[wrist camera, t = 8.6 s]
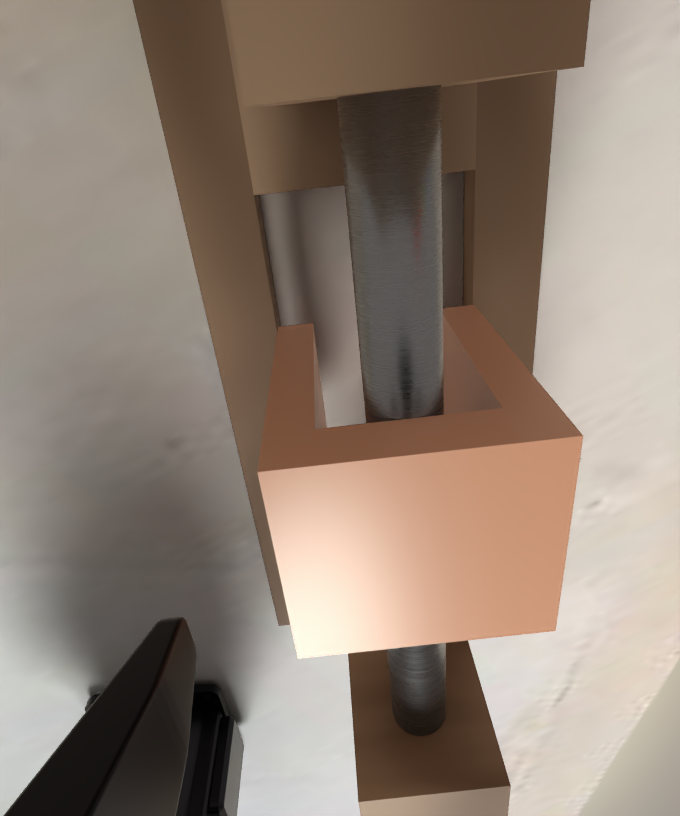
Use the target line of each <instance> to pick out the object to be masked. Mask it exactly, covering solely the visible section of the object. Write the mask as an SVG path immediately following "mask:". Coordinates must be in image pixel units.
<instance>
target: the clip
mask: <svg viewBox="0 0 680 816" xmlns="http://www.w3.org/2000/svg"><path fill="white" fill-rule="evenodd" d="M443 367H444V415H437V416H429V417H420V418H412V419H402V420H393V421H384V422H375V423H366V424H357V425H348V426H339V427H330V428H327V425H326V417H325V409H324V402H323V394H322V387H321V379H320V372H319V364H318V357H317V349H316V341H315V334H314V326H313V323H308V324H299V325H290V326H282V327H278V331H277V338H276V345H275V352H274V359H273V366H272V373H271V380H270V387H269V394H268V401H267V408H266V415H265V422H264V429H263V436H262V443H261V450H260V457H259V464H258V471H257V473H258V478H259V482H260V487H261V491H262V496H263V501H264V505H265V510H266V514H267V519H268V524H269V528H270V533H271V538H272V542H273V547H274V551H275V556H276V561H277V565H278V570H279V574H280V579H281V584H282V588H283V593H284V598H285V602H286V607H287V611H288V616H289V621H290V625H291V630H292V634H293V639H294V644H295V648H296V653H297V657H298V659H301V658H311V657H320V656H329V655H338V654H347V653H356V652H365V651H375V650H384V649H393V648H402V647H411V646H420V645H429V644H438V643H448V642H457V641H466V640H475V639H484V638H493V637H502V636H512V635H521V634H530V633H539V632H548V631H555V630H556V623H557V616H558V609H559V602H560V595H561V588H562V581H563V574H564V567H565V560H566V553H567V546H568V539H569V532H570V525H571V518H572V511H573V504H574V497H575V490H576V483H577V476H578V469H579V462H580V455H581V448H582V441H583V435H582V434H581V433H580V431H579V430H578V429H577V428H576V427H575V425H574V424H573V423H572V422H571V421H570V419H569V418H568V417H567V416H566V415H565V413H564V412H563V411H562V410H561V409H560V407H559V406H558V405H557V404H556V403H555V401H554V400H553V399H552V398H551V397H550V395H549V394H548V393H547V392H546V391H545V389H544V388H543V387H542V386H541V385H540V383H539V382H538V381H537V380H536V378H535V377H534V376H533V375H532V374H531V372H530V371H529V370H528V369H527V368H526V366H525V365H524V364H523V363H522V362H521V360H520V359H519V358H518V357H517V356H516V354H515V353H514V352H513V351H512V350H511V348H510V347H509V346H508V345H507V344H506V342H505V341H504V340H503V339H502V338H501V336H500V335H499V334H498V333H497V332H496V330H495V329H494V328H493V327H492V326H491V324H490V323H489V322H488V321H487V320H486V318H485V317H484V316H483V315H482V314H481V312H480V311H479V310H478V309H477V308H476V306H475V305H467V306H458V307H449V308H443Z"/></svg>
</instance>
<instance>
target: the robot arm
mask: <svg viewBox="0 0 680 816" xmlns="http://www.w3.org/2000/svg"><path fill="white" fill-rule="evenodd" d="M195 670H196V647H195V644H194V641H193V639H192V636H191V633H190V630H189V627H188V625H187V622H186V620H185V619H184V618H183V617H175V618H166V619H162V620H160V621H159V622H157V624H156V625H155V626H154V627H153V629H152V630H151V631H150V632H149V634H148V635H147V636H146V637H145V639H144V640H143V641H142V642H141V644H140V645H139V646H138V647H137V649H136V650H135V651H134V652H133V654H132V655H131V656H130V657H129V659H128V660H127V661H126V662H125V664H124V665H123V666H122V668H121V669H120V670H119V671H118V673H117V674H116V675H115V676H114V678H113V679H112V680H111V681H110V683H109V684H108V685H107V686H106V688H105V689H104V690H103V691H102V693H101V694H100V695H99V696H93V697H91V698H89V700H88V702H87V705H86V707H85V711H86V713H85V714H84V715H83V717H82V718H81V719H80V720H79V722H78V723H77V724H76V725H75V727H74V728H73V729H72V730H71V732H70V733H69V734H68V735H67V737H66V738H65V739H64V740H63V742H62V743H61V744H60V745H59V747H58V748H57V749H56V750H55V752H54V753H53V754H52V755H51V757H50V758H49V759H48V760H47V762H46V763H45V764H44V766H43V767H42V768H41V769H40V771H39V772H38V773H37V774H36V776H35V777H34V778H33V779H32V781H31V782H30V783H29V784H28V786H27V787H26V788H25V789H24V791H23V792H22V793H21V794H20V796H19V797H18V798H17V799H16V801H15V802H14V803H13V804H12V806H11V807H10V808H9V809H8V811H7V812H6V813H5V815H4V816H237V807H238V798H239V788H240V778H241V769H242V759H243V750H244V745H243V742H242V739H241V736H240V733H239V730H238V727H237V724H236V721H235V719H234V718H233V717H232V716H231V715H229V713H228V710H227V707H226V704H225V701H224V698H223V695H222V692H221V689H220V688H219V686H217V685H215V684H201V685H194V681H195Z"/></svg>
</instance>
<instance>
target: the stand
mask: <svg viewBox="0 0 680 816" xmlns="http://www.w3.org/2000/svg"><path fill="white" fill-rule="evenodd" d="M590 1H591V0H133V3H134V8H135V12H136V16H137V20H138V25H139V29H140V33H141V38H142V42H143V46H144V50H145V55H146V59H147V63H148V68H149V72H150V76H151V80H152V85H153V89H154V93H155V98H156V102H157V106H158V110H159V115H160V119H161V123H162V127H163V132H164V136H165V140H166V145H167V149H168V153H169V157H170V162H171V166H172V170H173V175H174V179H175V183H176V187H177V192H178V196H179V200H180V205H181V209H182V213H183V217H184V222H185V226H186V230H187V235H188V239H189V243H190V247H191V252H192V256H193V260H194V265H195V269H196V273H197V277H198V282H199V286H200V290H201V295H202V299H203V303H204V307H205V312H206V316H207V320H208V325H209V329H210V333H211V337H212V342H213V346H214V350H215V354H216V359H217V363H218V367H219V372H220V376H221V380H222V384H223V389H224V393H225V397H226V402H227V406H228V410H229V414H230V419H231V423H232V427H233V432H234V436H235V440H236V444H237V449H238V453H239V457H240V462H241V466H242V470H243V474H244V479H245V483H246V487H247V492H248V496H249V500H250V504H251V509H252V513H253V517H254V522H255V526H256V530H257V534H258V539H259V543H260V547H261V551H262V556H263V560H264V564H265V569H266V573H267V577H268V581H269V586H270V590H271V594H272V599H273V603H274V607H275V611H276V616H277V620H278V624H279V626H281V625H290V621H289V616H288V611H287V607H286V602H285V598H284V593H283V588H282V584H281V579H280V574H279V570H278V565H277V561H276V556H275V551H274V547H273V542H272V538H271V533H270V528H269V524H268V519H267V514H266V510H265V505H264V501H263V496H262V491H261V487H260V482H259V478H258V473H257V471H258V464H259V457H260V450H261V443H262V436H263V429H264V422H265V415H266V408H267V401H268V394H269V387H270V380H271V373H272V366H273V359H274V352H275V345H276V338H277V331H278V327H280V322H279V316H278V310H277V304H276V297H275V291H274V285H273V279H272V273H271V267H270V261H269V255H268V249H267V243H266V237H265V231H264V225H263V219H262V213H261V207H260V200H259V195H261V194H270V193H279V192H287V191H296V190H305V189H313V188H322V187H331V186H339V185H345V193H346V204H347V215H348V226H349V237H350V248H351V259H352V270H353V281H354V292H355V303H356V314H357V325H358V336H359V347H360V358H361V369H362V381H363V392H364V403H365V414H366V423H375V422H384V421H393V420H402V419H412V418H420V417H429V416H437V415H444V367H443V244H442V174H443V173H452V172H461V171H464V251H463V306H467V305H475V306H476V308H477V309H478V310H479V311H480V312H481V314H482V315H483V316H484V317H485V318H486V320H487V321H488V322H489V323H490V324H491V326H492V327H493V328H494V329H495V330H496V332H497V333H498V334H499V335H500V336H501V338H502V339H503V340H504V341H505V342H506V344H507V345H508V346H509V347H510V348H511V350H512V351H513V352H514V353H515V354H516V356H517V357H518V358H519V359H520V360H521V362H522V363H523V364H524V365H525V366H526V368H527V369H528V370H529V371H530V372H531V374H532V373H533V360H534V348H535V336H536V323H537V311H538V299H539V287H540V274H541V262H542V250H543V238H544V225H545V213H546V201H547V188H548V176H549V164H550V152H551V139H552V127H553V115H554V103H555V90H556V78H557V70H563V69H570V68H577V67H584V60H585V50H586V40H587V30H588V21H589V11H590ZM348 658H349V672H350V686H351V701H352V715H353V730H354V744H355V758H356V773H357V787H358V802H359V808H360V814H361V816H508V806H509V797H510V787H511V786H510V782H509V779H508V775H507V772H506V769H505V765H504V762H503V758H502V755H501V752H500V748H499V745H498V741H497V738H496V735H495V731H494V728H493V725H492V721H491V718H490V714H489V711H488V708H487V704H486V701H485V697H484V694H483V691H482V687H481V684H480V680H479V677H478V674H477V670H476V667H475V664H474V660H473V657H472V653H471V650H470V647H469V643H468V640H466V641H457V642H448V643H438V644H429V645H420V646H411V647H402V648H393V649H384V650H375V651H365V652H356V653H348Z"/></svg>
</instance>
